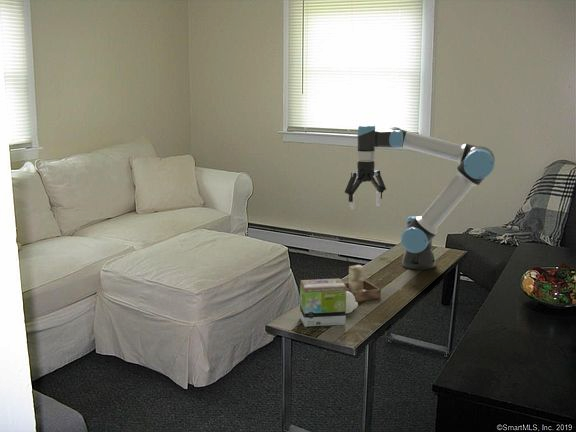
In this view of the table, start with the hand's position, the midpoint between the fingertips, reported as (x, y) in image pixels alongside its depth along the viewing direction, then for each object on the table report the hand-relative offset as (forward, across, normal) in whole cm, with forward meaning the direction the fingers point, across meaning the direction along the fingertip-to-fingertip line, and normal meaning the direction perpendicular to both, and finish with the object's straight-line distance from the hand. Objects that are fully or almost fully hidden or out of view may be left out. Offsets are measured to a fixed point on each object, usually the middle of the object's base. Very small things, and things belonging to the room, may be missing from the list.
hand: (365, 207), depth 294 cm
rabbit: (+29, +38, +42) cm, 63 cm away
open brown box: (+29, +22, +30) cm, 47 cm away
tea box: (+29, +48, +48) cm, 74 cm away
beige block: (+28, +22, +30) cm, 47 cm away
